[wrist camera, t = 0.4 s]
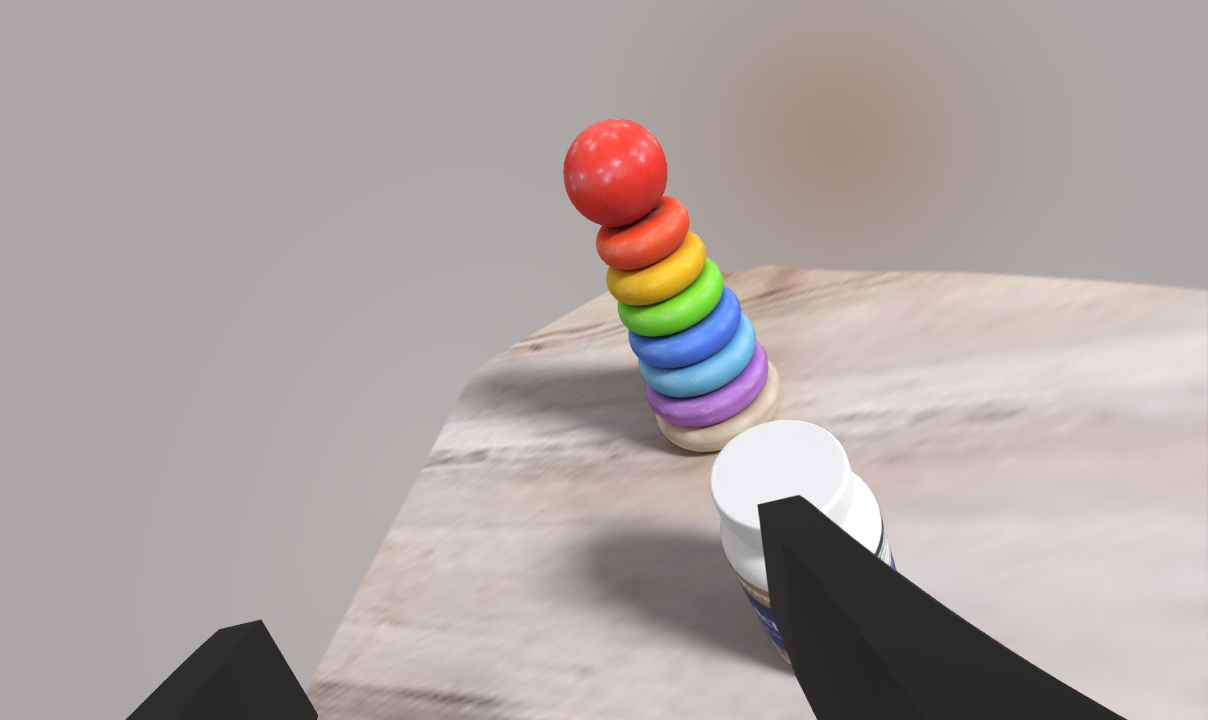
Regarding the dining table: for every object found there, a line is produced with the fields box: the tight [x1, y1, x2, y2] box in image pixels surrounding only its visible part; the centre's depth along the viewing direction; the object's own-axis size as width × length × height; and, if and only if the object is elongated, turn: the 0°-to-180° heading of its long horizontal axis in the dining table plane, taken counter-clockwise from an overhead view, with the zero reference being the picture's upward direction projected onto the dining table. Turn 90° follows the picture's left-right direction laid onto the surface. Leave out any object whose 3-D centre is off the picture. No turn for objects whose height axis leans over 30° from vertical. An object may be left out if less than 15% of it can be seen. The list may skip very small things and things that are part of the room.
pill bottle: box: [710, 420, 896, 665], centre depth 24 cm, size 6×6×10 cm
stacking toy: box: [563, 119, 782, 452], centre depth 34 cm, size 8×8×19 cm
